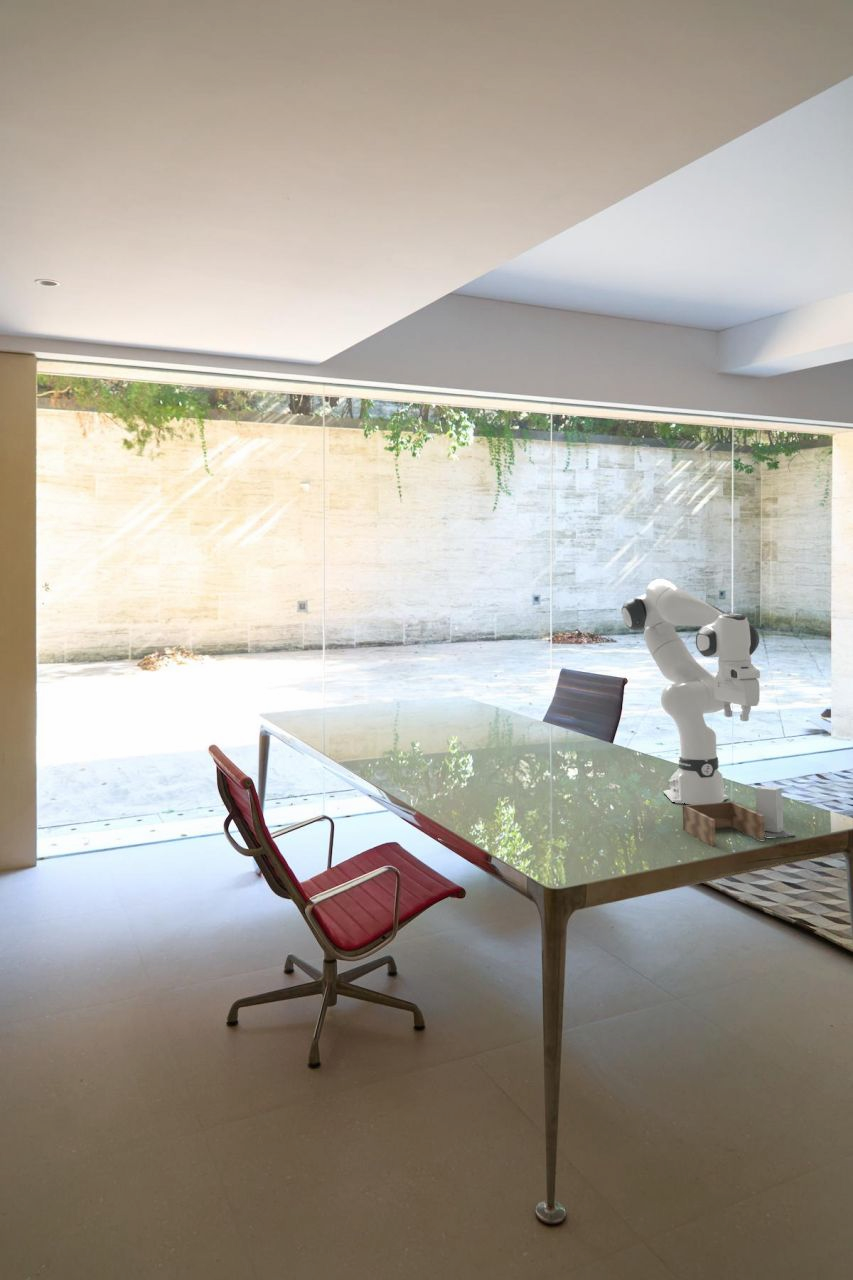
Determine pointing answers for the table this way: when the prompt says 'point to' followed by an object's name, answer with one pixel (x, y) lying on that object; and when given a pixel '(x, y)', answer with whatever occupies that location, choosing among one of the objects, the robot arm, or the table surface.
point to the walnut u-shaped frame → (721, 820)
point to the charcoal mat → (778, 834)
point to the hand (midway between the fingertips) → (736, 718)
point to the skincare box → (770, 807)
